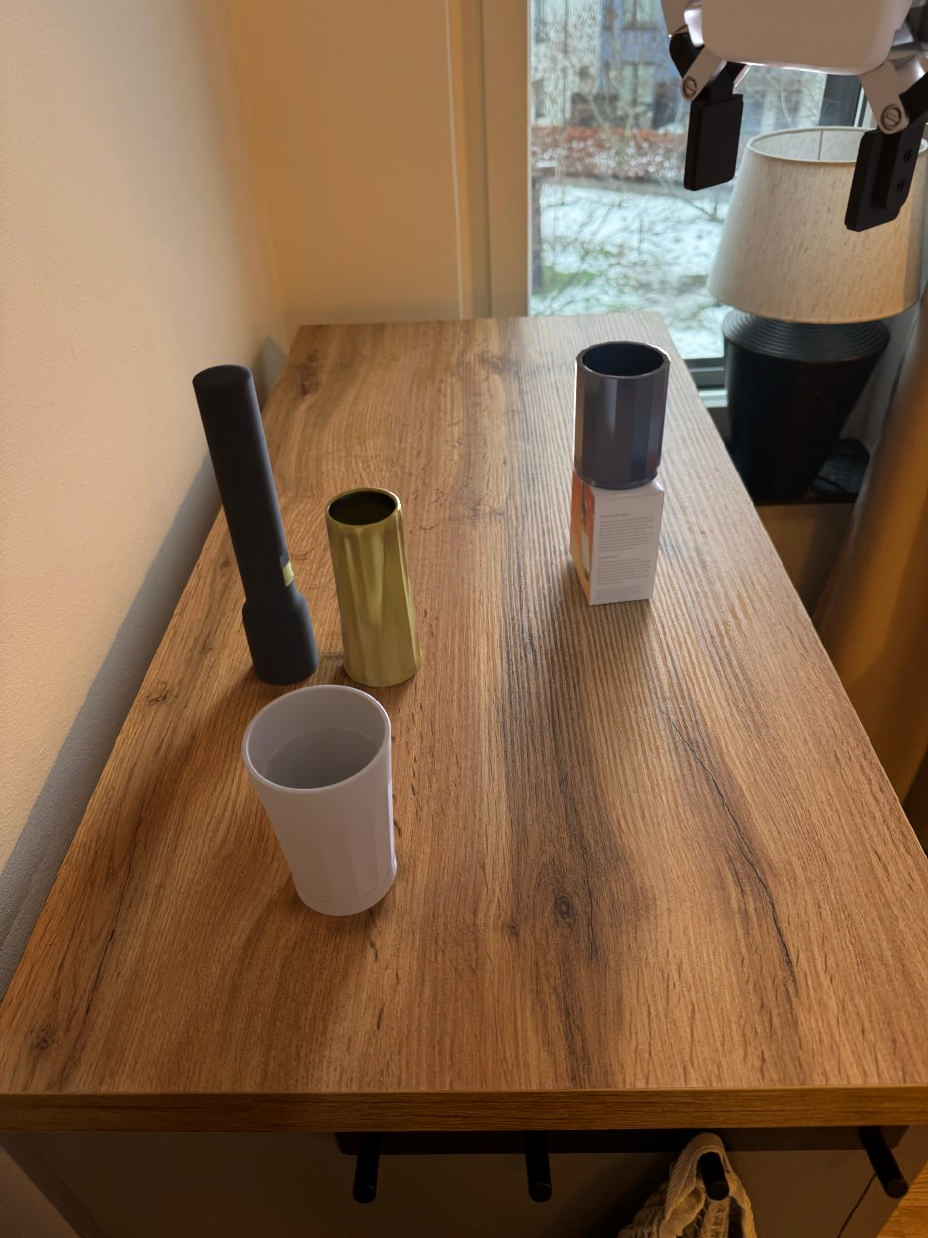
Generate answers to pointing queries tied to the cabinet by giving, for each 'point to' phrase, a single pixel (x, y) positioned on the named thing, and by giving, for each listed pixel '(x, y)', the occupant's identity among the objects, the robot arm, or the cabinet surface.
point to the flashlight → (255, 527)
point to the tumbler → (619, 413)
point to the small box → (615, 540)
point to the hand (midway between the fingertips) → (783, 203)
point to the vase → (373, 587)
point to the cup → (327, 793)
